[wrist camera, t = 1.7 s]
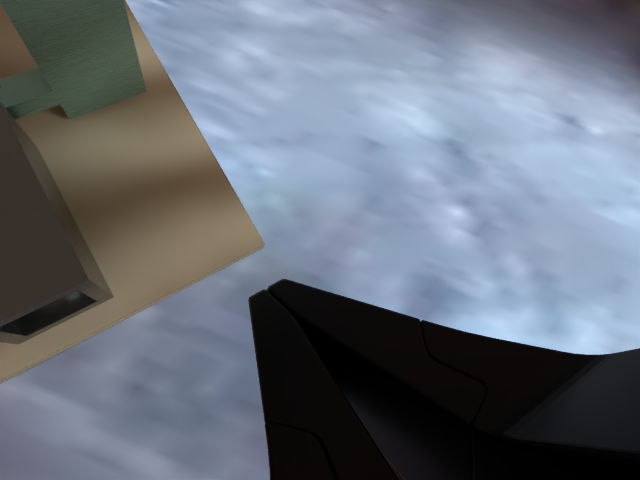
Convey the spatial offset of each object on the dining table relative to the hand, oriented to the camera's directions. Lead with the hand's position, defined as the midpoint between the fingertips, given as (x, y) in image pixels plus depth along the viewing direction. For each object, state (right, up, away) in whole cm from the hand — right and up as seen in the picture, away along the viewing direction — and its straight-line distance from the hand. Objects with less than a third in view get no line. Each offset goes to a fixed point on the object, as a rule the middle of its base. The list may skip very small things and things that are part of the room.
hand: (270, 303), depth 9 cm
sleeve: (-12, +1, +11) cm, 17 cm away
